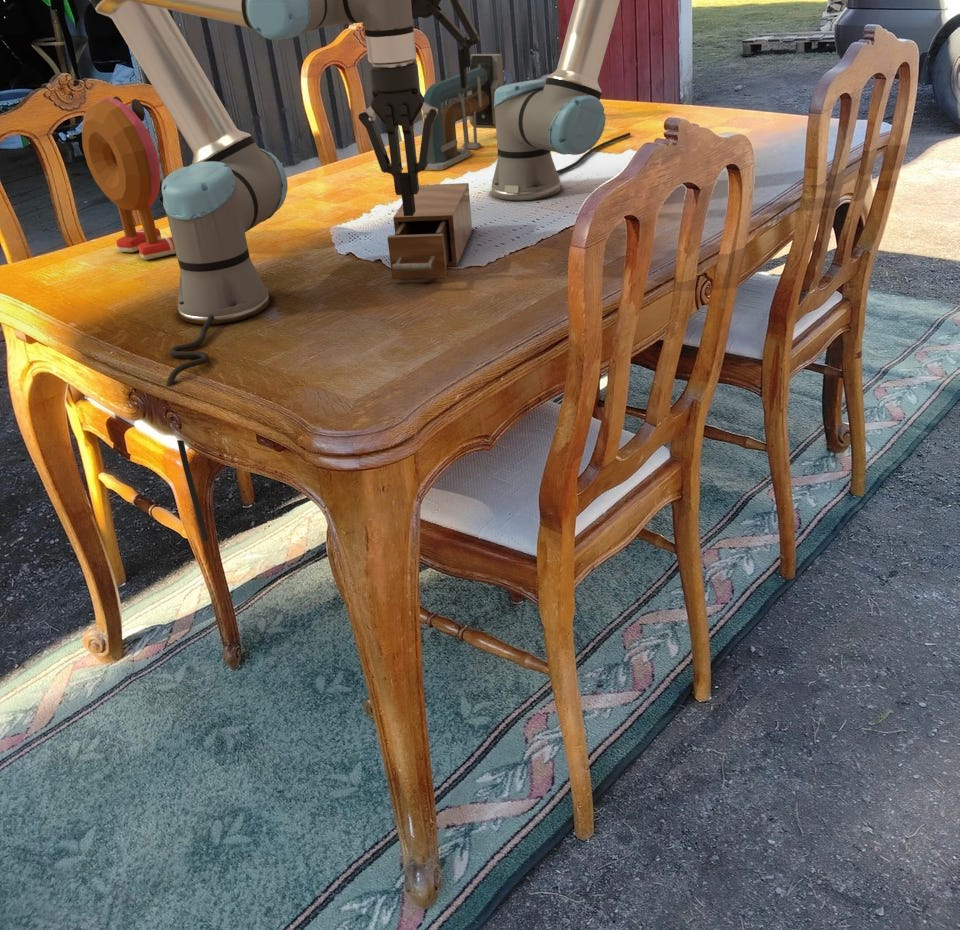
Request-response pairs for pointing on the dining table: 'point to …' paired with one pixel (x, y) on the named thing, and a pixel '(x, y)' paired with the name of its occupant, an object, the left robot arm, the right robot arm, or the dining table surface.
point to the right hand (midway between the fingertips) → (427, 89)
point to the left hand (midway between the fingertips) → (409, 213)
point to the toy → (126, 170)
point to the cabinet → (443, 213)
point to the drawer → (420, 249)
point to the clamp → (463, 109)
